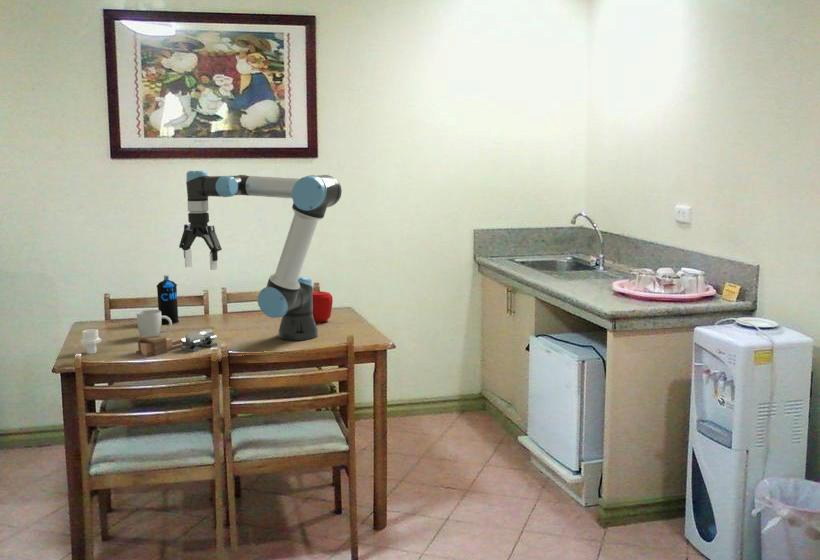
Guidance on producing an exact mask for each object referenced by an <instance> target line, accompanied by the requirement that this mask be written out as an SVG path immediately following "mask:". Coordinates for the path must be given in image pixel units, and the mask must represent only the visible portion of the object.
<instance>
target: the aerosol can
mask: <svg viewBox="0 0 820 560" xmlns="http://www.w3.org/2000/svg"><path fill="white" fill-rule="evenodd" d="M177 286H178V284H177V283H175V282H174V281H172V280H170V277H169V274H165V275H163V280H162V281H160V282H158V283H157V285H156V288H157V289H156V290H157V291H156V293H157V310H160V311H161V316H167V317H169V318H170V319H171V321H172V325H173V324H174V325H175V324H178V323H179V322H180V320H179V309H178V306H179V305H178V292H177V291H178V290H177ZM162 325H169V321H168V320H167V319H164V318H162Z"/></svg>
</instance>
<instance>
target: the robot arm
mask: <svg viewBox="0 0 820 560" xmlns="http://www.w3.org/2000/svg"><path fill="white" fill-rule="evenodd" d="M185 181H186V182H185V183H186V192H187V193H186V194H187V195H186V196H187V212H188V213H187V219H188V223H189V224H187V223H186V224H184V225H183V232H182V236H181V238H180V242H179V245H178V246H179V249H182V250H183V258H184V267H185V268H192V267H193V262H192V256H193V255H192V249H191V246H192V245H193V243H194V242H195V239H196V238H201V239H203V240H204V242H205V244H206V246H207V247H208V249H209V265H210V267H209V268H210V270H211V271H213V270H218V260H219V259H218V258H219V257H218V256H219V255H218V252H220V251H222V246H221V243H220V241H219V238H218V236H217V233H216V230H215V229H216V228H215V225H208V223H210V214H209V197H219V198H220V197H222V198H228V197H234V196H253V197H264V198H265V197H267V198H279V199H280V198H282V199H292V206H291V209H292V211H293V213H294V214H293V218H292V220H291V223H290V226H289V231H288V233H287V236H286V239H285V242H284V245H283V247H282V250H281V255H280V257H279V260H278V264H277V267H276V269H275V273H273V274H271V275H270V276H269V278H268V280H267V283H266V286H265V287H264V288H262V289H261V290H260V291H259V293H258V295H257V305H258V307H259V309H260V311H261V313H263V315H265V316H266V317H268V318H272V319H277V318H281V321H280V324H279V329H278V334H277V335H278V338H279V339H282V340H286V341H287V340H288V341H303V340H310V339H311V340H312V339H314V338H317V337H318V335H319V329H318V327H317V324H316V322H315V321H314V318H313V295H312V292H313V287H314V286H313V281H312V279H311V278H310V277H307V276H306V277H305V276H300V275H301V272H302V270H303V266H304V263H305V262H306V261H305V260H306V258H307V254H308V251H309V248H310V245H311V244H312V239H313V236H314V233H315V230H316V228H317V224H318V222H319V221H320V220H323V219H324V217H325V214H326V211H327V208H330V207H333V206H335V205H336V204H337V203H338V202H339V201H340V199H341V197H342V193H343V192H342V191H343V190H342V186H341V184H340V182H339V181H338V179H336V178H335V177H334V176H332V175H329V174H320V175H314V174H313V175H312V174H311V175H306V176H303V177H301V178H298V177H297V178H296V177H280V176H279V177H278V176H277V177H276V176H259V175H257V176H256V175H251V176H250V175H247V174H238V175H208V173H207V171H206V170H188V171H187V172H186V180H185Z"/></svg>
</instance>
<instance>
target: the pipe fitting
mask: <svg viewBox="0 0 820 560" xmlns="http://www.w3.org/2000/svg"><path fill="white" fill-rule="evenodd" d="M81 332H82V338H81V339H79V341H80V344H82V345H86V346H85V347H86V349H85V350H86V354H88V355H93V354H96V353H97V344H99V343H101V342H102V339H101V338H100V337H99V330H98V329H97V328H96V329H95V328H92V329H90V328H89V329H85V330H82V331H81Z"/></svg>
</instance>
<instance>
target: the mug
mask: <svg viewBox="0 0 820 560" xmlns="http://www.w3.org/2000/svg"><path fill="white" fill-rule="evenodd" d="M162 318H164V319H167V320H168V321H169V324H168V327H166V328H165V329H162V326H163V324H162ZM136 325H137V330H138V333H139V334H138V335H139V337H142V336H146V335H154V336H159V337H161V333H167V332H169V330H171V328H172V326H173V324H172V321H171V319H170V318H169V317H167V316H161V311H160V310H158V309H145V310H140V311H138V312H136Z"/></svg>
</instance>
